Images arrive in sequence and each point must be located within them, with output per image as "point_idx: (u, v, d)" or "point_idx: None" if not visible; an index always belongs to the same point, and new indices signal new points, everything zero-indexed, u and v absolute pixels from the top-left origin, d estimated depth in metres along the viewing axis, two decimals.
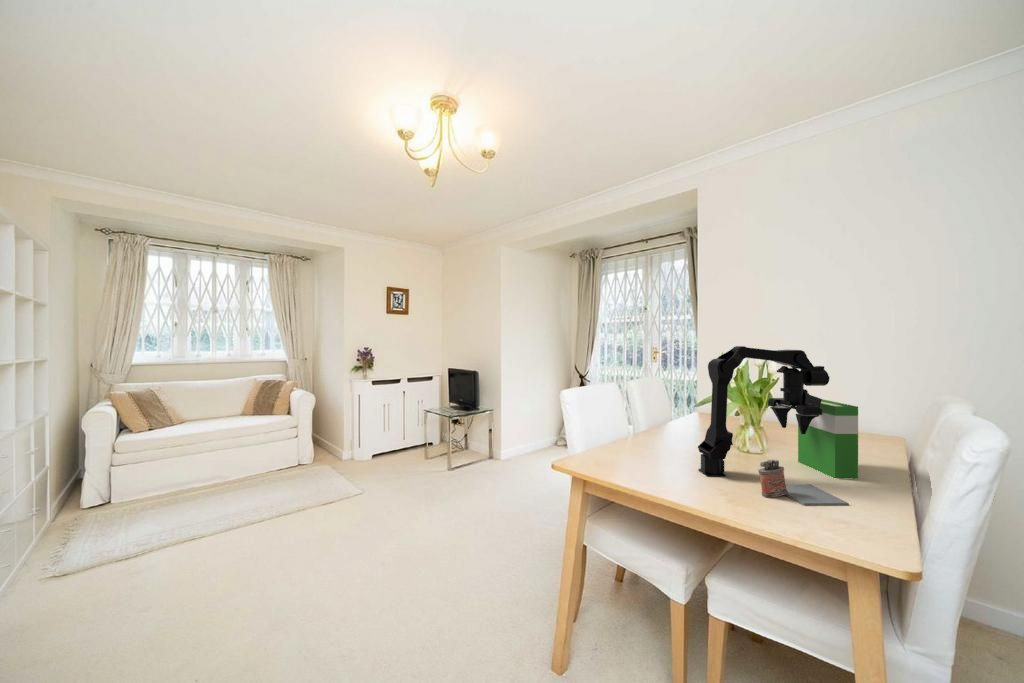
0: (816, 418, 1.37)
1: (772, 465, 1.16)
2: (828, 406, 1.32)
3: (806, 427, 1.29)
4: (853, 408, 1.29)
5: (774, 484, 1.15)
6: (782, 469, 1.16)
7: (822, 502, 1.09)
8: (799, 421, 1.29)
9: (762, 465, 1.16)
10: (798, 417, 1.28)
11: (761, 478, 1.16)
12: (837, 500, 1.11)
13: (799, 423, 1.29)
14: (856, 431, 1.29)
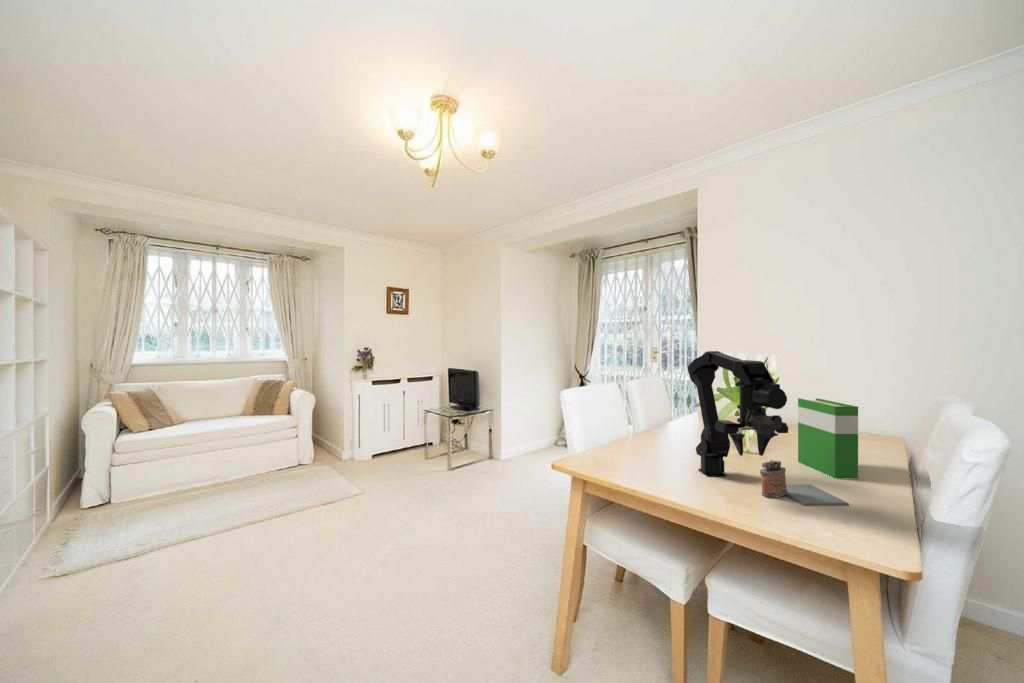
0: (816, 418, 1.37)
1: (774, 466, 1.15)
2: (828, 406, 1.32)
3: (738, 447, 1.16)
4: (853, 408, 1.29)
5: (775, 485, 1.14)
6: (784, 470, 1.15)
7: (822, 502, 1.09)
8: None
9: (764, 466, 1.15)
10: None
11: (762, 479, 1.15)
12: (837, 500, 1.11)
13: None
14: (856, 431, 1.29)
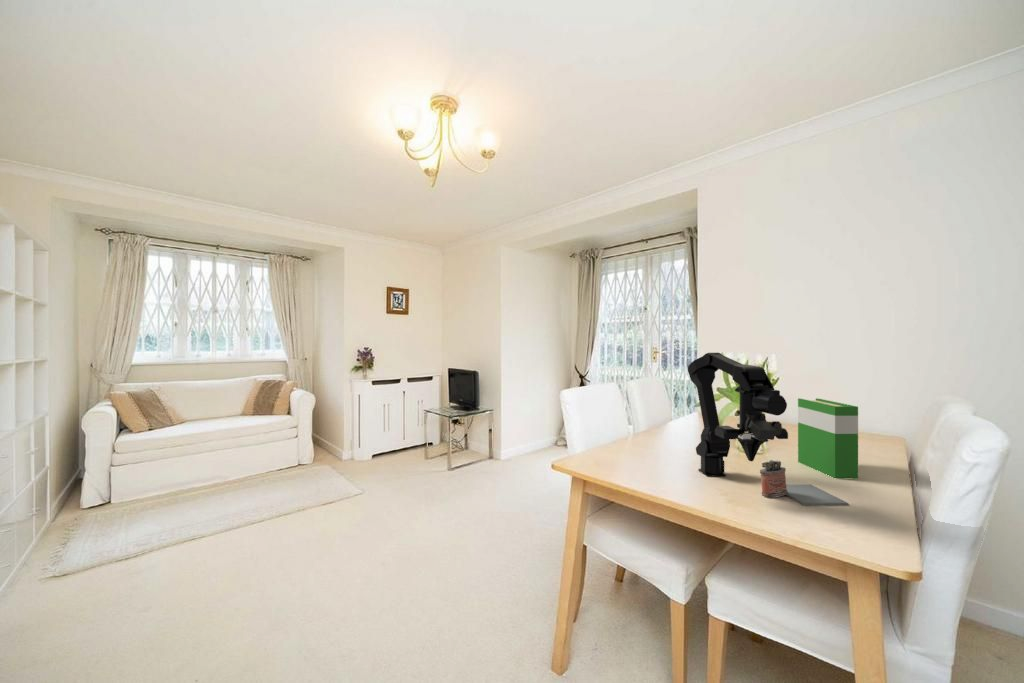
0: (816, 418, 1.37)
1: (774, 466, 1.15)
2: (828, 406, 1.32)
3: (747, 453, 1.16)
4: (853, 408, 1.29)
5: (775, 485, 1.14)
6: (784, 470, 1.15)
7: (822, 502, 1.09)
8: None
9: (764, 466, 1.15)
10: None
11: (762, 479, 1.15)
12: (837, 500, 1.11)
13: None
14: (856, 431, 1.29)
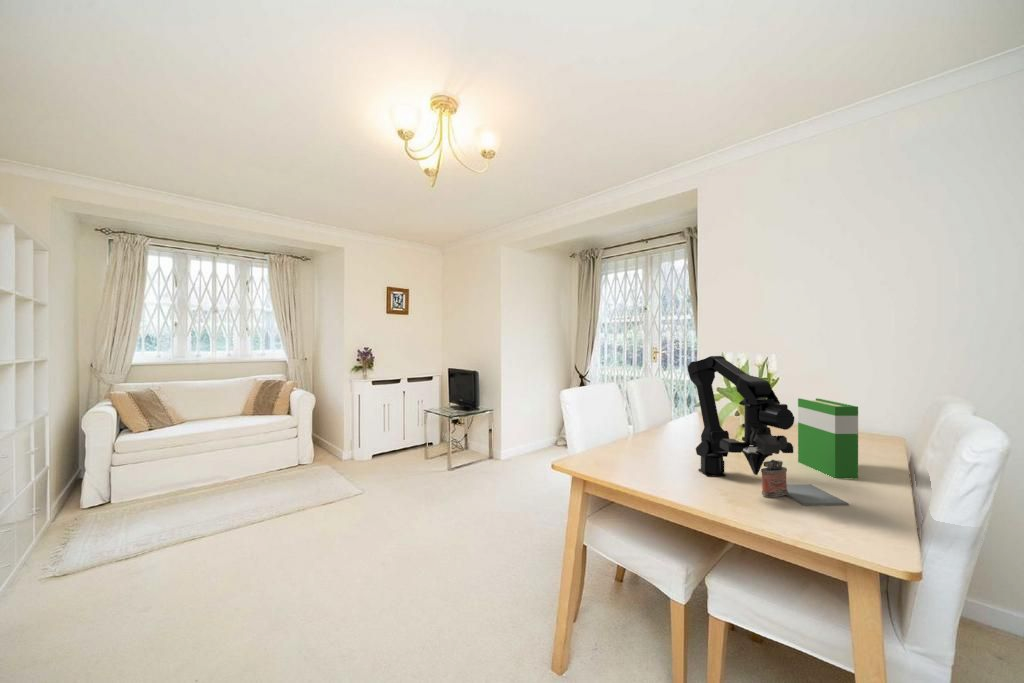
0: (816, 418, 1.37)
1: (775, 466, 1.15)
2: (828, 406, 1.32)
3: (753, 466, 1.15)
4: (853, 408, 1.29)
5: (775, 484, 1.14)
6: (785, 470, 1.15)
7: (822, 502, 1.09)
8: None
9: (765, 465, 1.15)
10: None
11: (763, 478, 1.15)
12: (837, 500, 1.11)
13: None
14: (856, 431, 1.29)
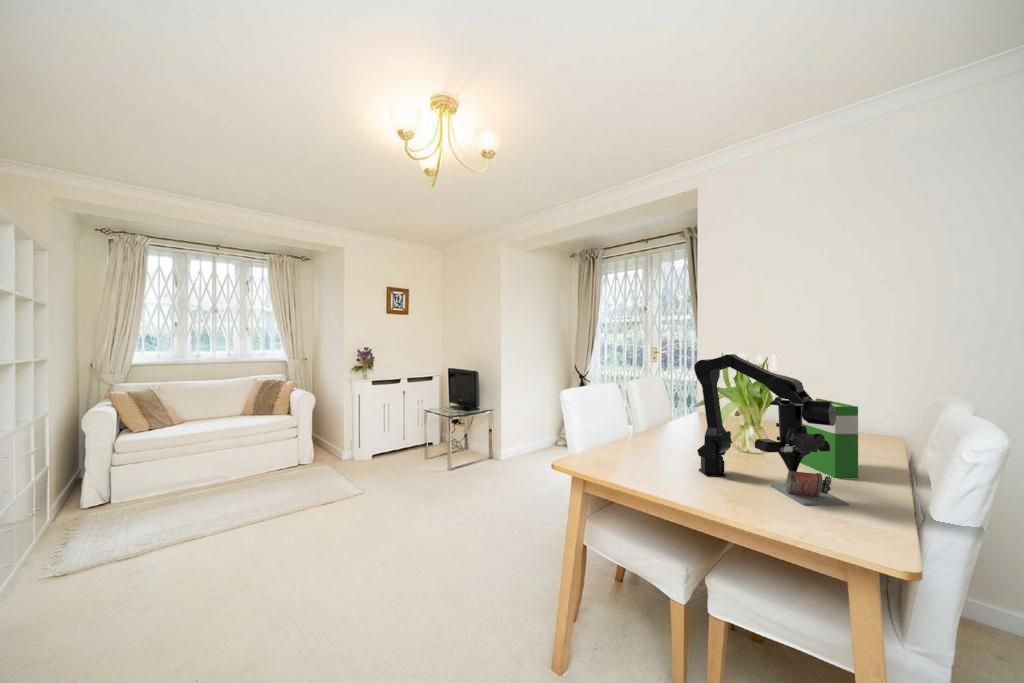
0: None
1: (825, 487, 1.11)
2: None
3: (789, 466, 1.15)
4: (853, 408, 1.29)
5: (804, 484, 1.12)
6: (817, 495, 1.13)
7: (822, 502, 1.09)
8: None
9: (828, 478, 1.10)
10: None
11: (811, 474, 1.12)
12: (837, 500, 1.11)
13: None
14: (856, 431, 1.29)
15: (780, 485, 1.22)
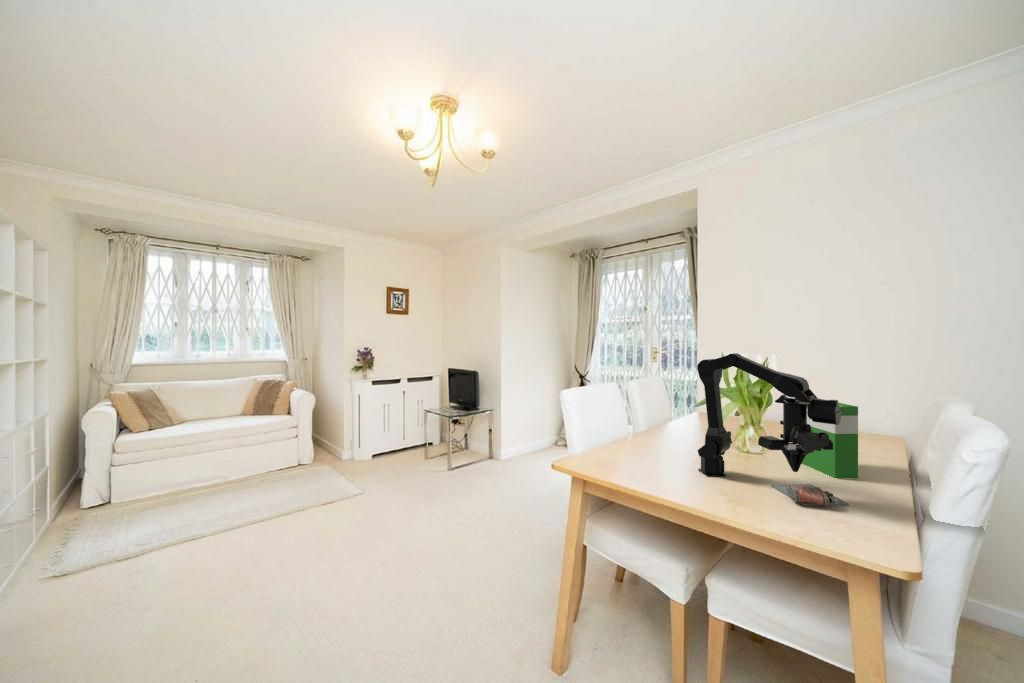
0: None
1: None
2: None
3: (792, 463, 1.15)
4: (853, 408, 1.29)
5: None
6: None
7: None
8: None
9: (834, 503, 1.06)
10: None
11: (818, 500, 1.07)
12: (837, 500, 1.11)
13: None
14: (856, 431, 1.29)
15: (780, 485, 1.22)
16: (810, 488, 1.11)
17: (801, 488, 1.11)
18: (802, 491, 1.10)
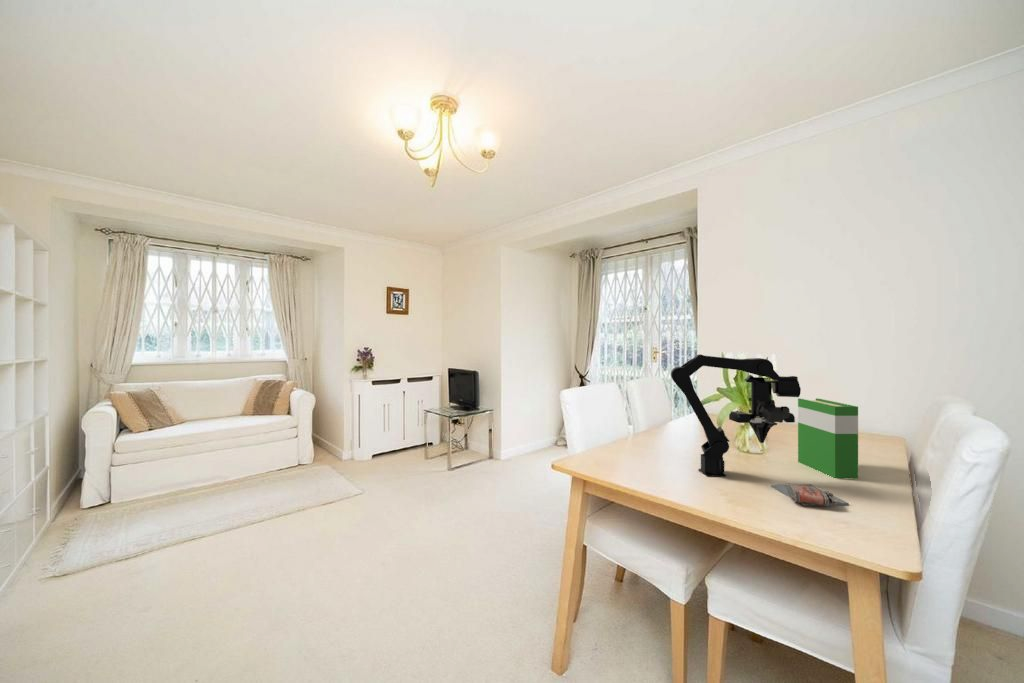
0: (816, 418, 1.37)
1: None
2: (828, 406, 1.32)
3: (759, 435, 1.29)
4: (853, 408, 1.29)
5: None
6: None
7: None
8: None
9: (834, 503, 1.06)
10: None
11: (818, 501, 1.07)
12: (837, 500, 1.11)
13: None
14: (856, 431, 1.29)
15: (780, 485, 1.22)
16: (810, 488, 1.11)
17: (801, 488, 1.11)
18: (803, 491, 1.10)
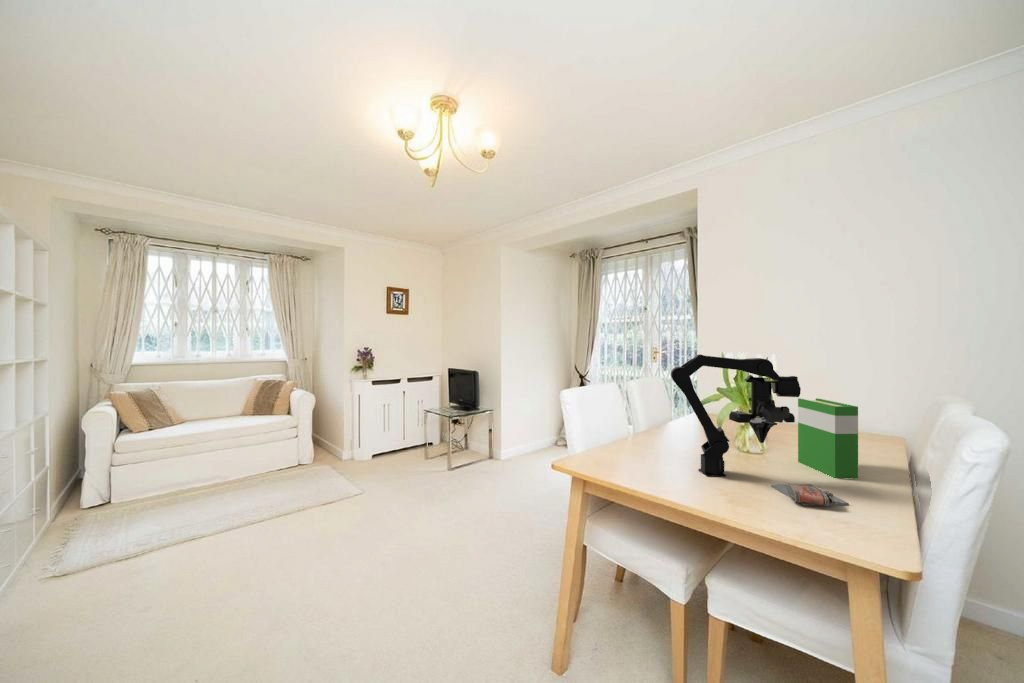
0: (816, 418, 1.37)
1: None
2: (828, 406, 1.32)
3: (759, 435, 1.29)
4: (853, 408, 1.29)
5: None
6: None
7: None
8: None
9: (834, 503, 1.06)
10: None
11: (818, 501, 1.07)
12: (837, 500, 1.11)
13: None
14: (856, 431, 1.29)
15: (780, 485, 1.22)
16: (810, 488, 1.11)
17: (801, 488, 1.11)
18: (802, 491, 1.10)
